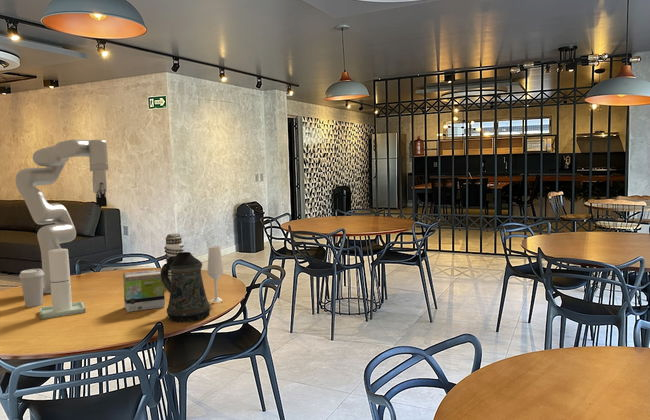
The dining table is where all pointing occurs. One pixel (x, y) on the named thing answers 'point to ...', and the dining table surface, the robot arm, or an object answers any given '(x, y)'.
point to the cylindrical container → (60, 280)
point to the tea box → (143, 290)
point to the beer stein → (185, 288)
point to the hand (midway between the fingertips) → (101, 205)
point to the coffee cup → (32, 287)
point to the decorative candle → (173, 247)
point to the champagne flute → (215, 268)
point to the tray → (48, 311)
